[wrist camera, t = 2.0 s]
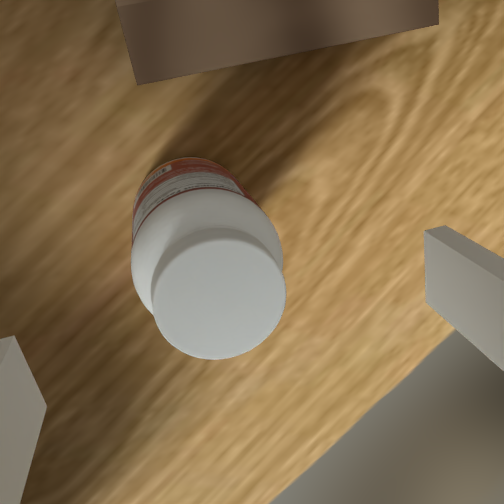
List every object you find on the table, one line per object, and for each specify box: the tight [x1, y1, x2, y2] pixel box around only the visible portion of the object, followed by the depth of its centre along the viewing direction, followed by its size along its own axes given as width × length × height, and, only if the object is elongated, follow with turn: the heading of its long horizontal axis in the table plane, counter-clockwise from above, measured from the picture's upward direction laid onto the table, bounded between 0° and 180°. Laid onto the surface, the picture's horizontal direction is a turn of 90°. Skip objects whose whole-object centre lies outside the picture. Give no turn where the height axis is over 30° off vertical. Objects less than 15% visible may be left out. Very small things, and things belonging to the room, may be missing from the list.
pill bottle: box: [131, 157, 286, 360], centre depth 21 cm, size 6×6×11 cm
